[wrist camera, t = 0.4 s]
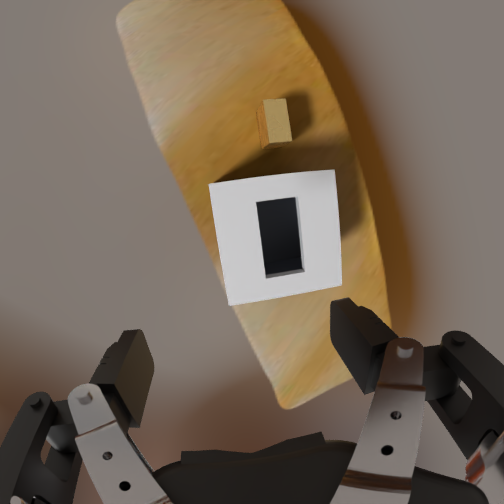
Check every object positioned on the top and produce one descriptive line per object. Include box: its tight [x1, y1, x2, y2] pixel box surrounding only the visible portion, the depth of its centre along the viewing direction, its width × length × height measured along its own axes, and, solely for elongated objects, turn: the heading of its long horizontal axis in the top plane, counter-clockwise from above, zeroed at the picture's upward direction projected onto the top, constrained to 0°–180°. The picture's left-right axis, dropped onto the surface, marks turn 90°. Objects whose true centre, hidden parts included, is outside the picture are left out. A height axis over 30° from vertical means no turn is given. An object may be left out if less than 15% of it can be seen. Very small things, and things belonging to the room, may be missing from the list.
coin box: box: [209, 170, 342, 306], centre depth 31 cm, size 12×12×10 cm
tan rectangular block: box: [257, 99, 292, 149], centre depth 30 cm, size 5×2×6 cm, turn 8°
